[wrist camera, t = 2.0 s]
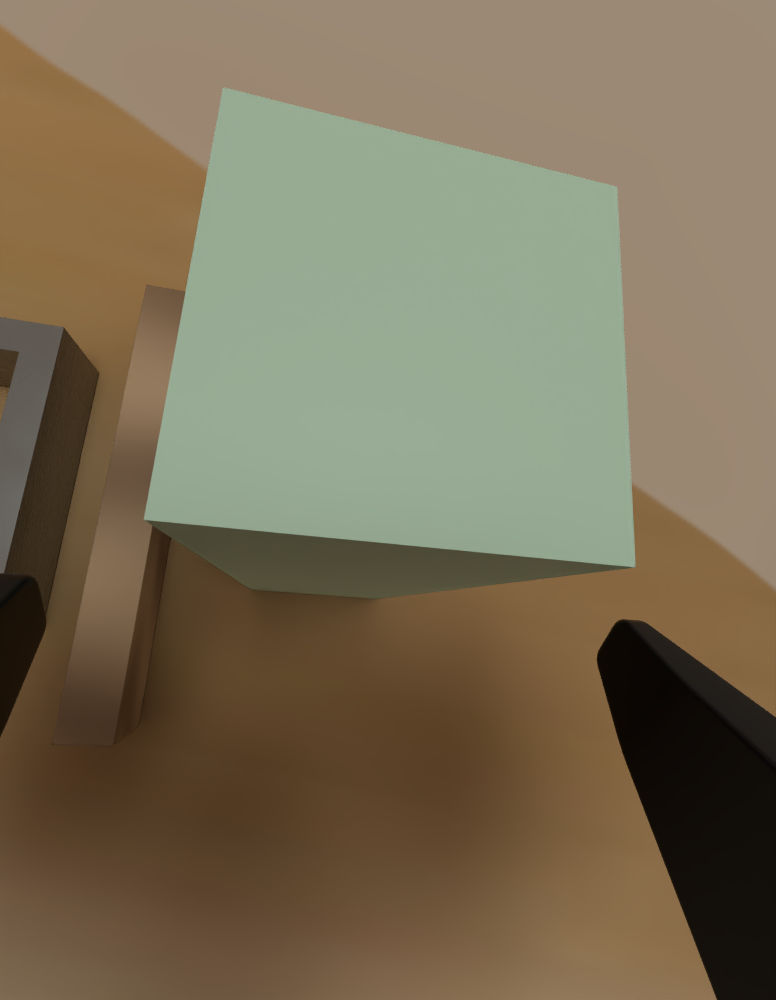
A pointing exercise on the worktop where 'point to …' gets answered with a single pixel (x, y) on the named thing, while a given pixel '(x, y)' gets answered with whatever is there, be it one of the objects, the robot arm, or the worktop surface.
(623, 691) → the robot arm
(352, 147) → the bar
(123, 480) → the brown wooden bar
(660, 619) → the worktop surface
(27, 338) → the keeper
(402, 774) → the worktop surface
